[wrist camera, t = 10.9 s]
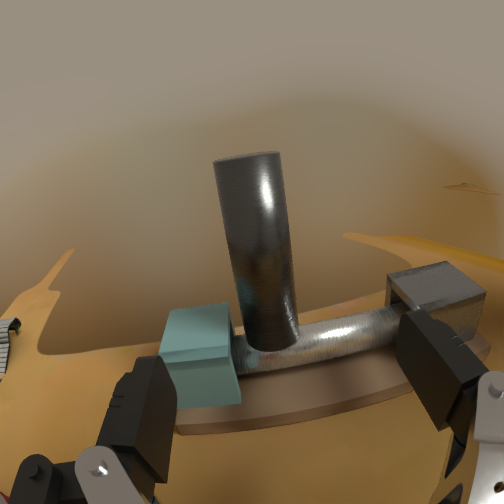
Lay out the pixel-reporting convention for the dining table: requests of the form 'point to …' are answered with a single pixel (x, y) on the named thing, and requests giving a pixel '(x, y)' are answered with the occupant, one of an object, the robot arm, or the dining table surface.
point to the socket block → (201, 356)
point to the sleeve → (439, 295)
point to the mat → (6, 340)
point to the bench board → (309, 391)
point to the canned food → (3, 499)
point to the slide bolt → (280, 277)
